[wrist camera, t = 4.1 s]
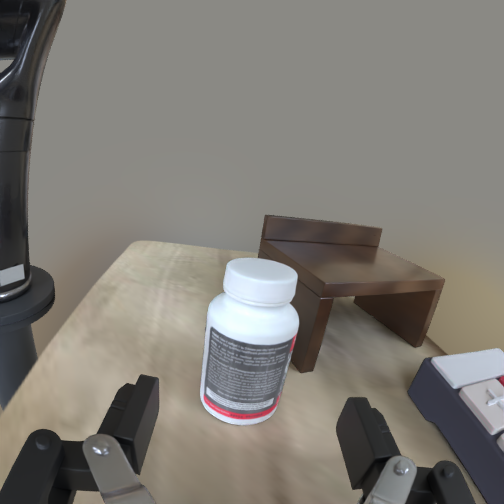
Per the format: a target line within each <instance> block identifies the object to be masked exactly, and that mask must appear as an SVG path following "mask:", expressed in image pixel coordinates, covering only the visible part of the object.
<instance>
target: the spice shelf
mask: <svg viewBox="0 0 504 504" xmlns="http://www.w3.org/2000/svg"><path fill="white" fill-rule="evenodd" d="M381 233H382V228H380V227H374V226H365V225H357V224H349V223H339V222H332V221H322V220H313V219H304V218H294V217H284V216H274V215H265V218H264V224H263V230H262V236H261V237H262V238H261V242H260V249H259V254H258V258H260V259H266V260H272V261H275V262H279V263H282V264H284V265H287V266H289V267H291V268H292V269H294V270H295V271H296V273H297V275H298V278H297V284H296V290H295V295H294V297H293V299H292V301H291V302H289V303H290V304H291V305H292V306H293V307H294V308H295V310H296V312H297V314H298V317H299V327H298V332H297V336H296V340H295V344H294V348H293V351H292V354H291V359H290V360H291V361H292V363H293V364H294V365H295V366H296V368H297V369H298V370H299V371H300V373H304V372H310V371H313V369H314V366H315V362H316V359H317V356H318V353H319V349H320V346H321V342H322V339H323V336H324V332H325V329H326V325H327V321H328V318H329V314H330V310H331V307H332V303H333V299H334V298H333V297H348V296H355V299H354V303H355V304H357V305H358V306H359V307H361V308H362V309H363V310H365V311H366V312H368V313H369V314H370V315H372V316H373V317H374V318H376V319H377V320H379V321H380V322H381V323H383V324H384V325H385V326H387V327H388V328H390V329H391V330H392V331H394V332H395V333H396V334H398V335H399V336H400V337H402V338H403V339H405V340H406V341H407V342H409V343H410V344H411V345H413V346H414V347H419V346H422V343H423V341H424V338H425V336H426V333H427V330H428V328H429V326H430V323H431V320H432V317H433V315H434V312H435V309H436V306H437V303H438V300H439V297H440V294H441V291H442V288H443V285H444V282H445V279H444V278H442V277H440V276H438V275H436V274H434V273H432V272H430V271H428V270H426V269H424V268H422V267H420V266H418V265H416V264H414V263H411V262H409V261H407V260H405V259H403V258H401V257H399V256H396V255H395V254H392V253H390V252H388V251H386V250H384V249H382V248H379V247H378V246H379V242H380V237H381Z"/></svg>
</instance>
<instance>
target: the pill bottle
mask: <svg viewBox="0 0 504 504" xmlns="http://www.w3.org/2000/svg"><path fill="white" fill-rule="evenodd" d="M297 278H298V275H297V273H296V271H295V270H294V269H292V268H291V267H289V266H287V265H284V264H282V263H279V262H275V261H272V260H266V259H260V258H237V259H233V260H231V261H229V262H228V263H227V266H226V272H225V277H224V280H223V284H224V285H223V289H224V291H225V292H223V293H221V294H219V295H217V296H216V297H215V298H214V299H213V300H212V301H211V303H210V305H209V308H208V313H207V322H206V328H205V342H204V352H203V363H202V373H201V389H200V397H201V401H202V404H203V405H204V407H205V408H206V410H207V411H208V412H209V413H211V414H212V415H213V416H215V417H216V418H218V419H220V420H222V421H224V422H227V423H230V424H236V425H252V424H256V423H260V422H262V421H264V420H266V419H268V418H269V417H270V416H272V415H273V413H274V412H275V410H276V408H277V405H278V402H279V399H280V396H281V392H282V389H283V385H284V381H285V378H286V374H287V370H288V366H289V362H290V359H291V354H292V351H293V348H294V344H295V340H296V336H297V332H298V327H299V317H298V314H297V312H296V310H295V308H294V307H293V306H292V305H291V304H290V303H289V302H291V301H292V299H293V297H294V295H295V290H296V284H297Z"/></svg>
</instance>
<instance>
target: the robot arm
mask: <svg viewBox="0 0 504 504" xmlns="http://www.w3.org/2000/svg"><path fill="white" fill-rule="evenodd" d="M65 4H66V0H0V60H14V61H13V62H12V64H11V65H10V66H9V67H8V68H6V69H5V70H4V71H3V72H2V73H0V304H1V303H5V302H8V301H11V300H14V299H16V298H18V297H20V296H22V295H24V294H25V293H26V292H27V291H28V290H29V289H30V288H31V286H32V277H31V271H30V262H29V245H28V182H29V165H30V154H31V152H30V151H31V143H32V135H33V127H34V122H33V121H34V119H35V112H36V106H37V100H38V95H39V90H40V85H41V81H42V76H43V72H44V69H45V65H46V62H47V58H48V55H49V52H50V49H51V46H52V43H53V40H54V37H55V35H56V32H57V29H58V26H59V23H60V21H61V18H62V15H63V11H64V8H65ZM158 412H159V379H158V378H157V377H152V376H147V375H143V374H141V375H140V376H139V378H138V380H137V382H136V385H133V384H129V383H126V384H125V385H124V386H123V387H121V388H120V389H119V390H118V392H117V394H116V396H115V398H114V400H113V402H112V404H111V407H110V408H109V410H108V412H107V414H106V416H105V418H104V420H103V422H102V424H101V426H100V428H99V430H98V432H97V434H95V435H92V436H90V437H88V438H87V439H86V440H85V441H64V440H61V439H60V437H59V436H58V435H57V434H56V433H55V432H53V431H51V430H47V429H40V430H36V431H34V432H32V433H31V434H30V435H29V437H28V438H27V440H26V442H25V444H24V446H23V448H22V449H21V451H20V453H19V455H18V457H17V459H16V461H15V463H14V465H13V467H12V469H11V471H10V473H9V475H8V477H7V479H6V481H5V483H4V485H3V487H2V489H1V491H0V504H73V500H74V497H75V494H76V491H77V490H81V491H99V492H100V494H101V496H102V498H103V500H104V502H105V504H156V502H155V501H154V499H153V498H152V496H151V494H150V493H149V491H148V490H147V488H146V487H145V486H144V485H142V484H141V483H140V481H139V480H138V478H137V476H136V475H135V474H138V475H140V472H141V469H142V466H143V462H144V459H145V455H146V452H147V449H148V446H149V442H150V439H151V436H152V433H153V429H154V426H155V423H156V420H157V416H158ZM336 433H337V437H338V440H339V444H340V447H341V451H342V454H343V458H344V461H345V465H346V468H347V472H348V475H349V479H350V482H351V486H352V490H356V489H362V490H363V494H362V495H361V497H360V498H359V500H358V502H357V504H436V503H437V504H476V503H475V501H474V499H473V497H472V494H471V492H470V490H469V488H468V486H467V484H466V482H465V479H464V477H463V475H462V473H461V471H460V469H459V467H458V466H457V465H456V464H454V463H453V462H450V461H445V460H444V461H440V462H438V463H437V464H436V465H435V466H434V467H433V468H425V467H416V465H415V463H414V462H413V461H412V460H411V459H409V458H407V457H404V456H401V454H400V451H399V449H398V447H397V445H396V443H395V440H394V438H393V436H392V434H391V432H390V430H389V427H388V426H387V423H386V421H385V419H384V417H383V415H382V414H381V413H380V412H379V411H378V410H377V409H376V408H371V406H370V404H369V402H368V400H367V398H365V397H350V398H348V399H347V401H346V403H345V406H344V408H343V410H342V412H341V415H340V417H339V419H338V421H337V426H336Z"/></svg>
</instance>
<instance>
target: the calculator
mask: <svg viewBox="0 0 504 504" xmlns="http://www.w3.org/2000/svg"><path fill="white" fill-rule="evenodd" d="M408 394H409V396H410V397H411V399H412V400H413V401H414V403H415V404H416V406H417V407H418V409H419V410H420V412H421V413H422V415H423V416H424V418H425V419H426V420H428V421H431V422H434V423H436V425H437V426H438V428H439V429H440V431H441V432H442V433H443V435H444V436H445V438H446V439H447V441H448V442H449V444H450V445H451V447H452V448H453V450H454V451H455V453H456V454H457V456H458V457H459V459H460V460H461V462H462V463H463V465H464V467H465V468H466V470H467V471H468V473H469V474H470V476H471V477H472V479H473V481H474V482H475V484H476V485H477V487H478V488H479V490H480V492H481V493H482V495H483V496H484V498H485V500H486V501H487V503H488V504H504V352H502V351H501V350H500V349H499V348H494V349H489V350H483V351H476V352H470V353H462V354H456V355H447V356H439V357H431V358H425V359H424V360H423V362H422V364H421V366H420V368H419V370H418V372H417V374H416V376H415V378H414V380H413V382H412V384H411V386H410V387H409V389H408Z"/></svg>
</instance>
